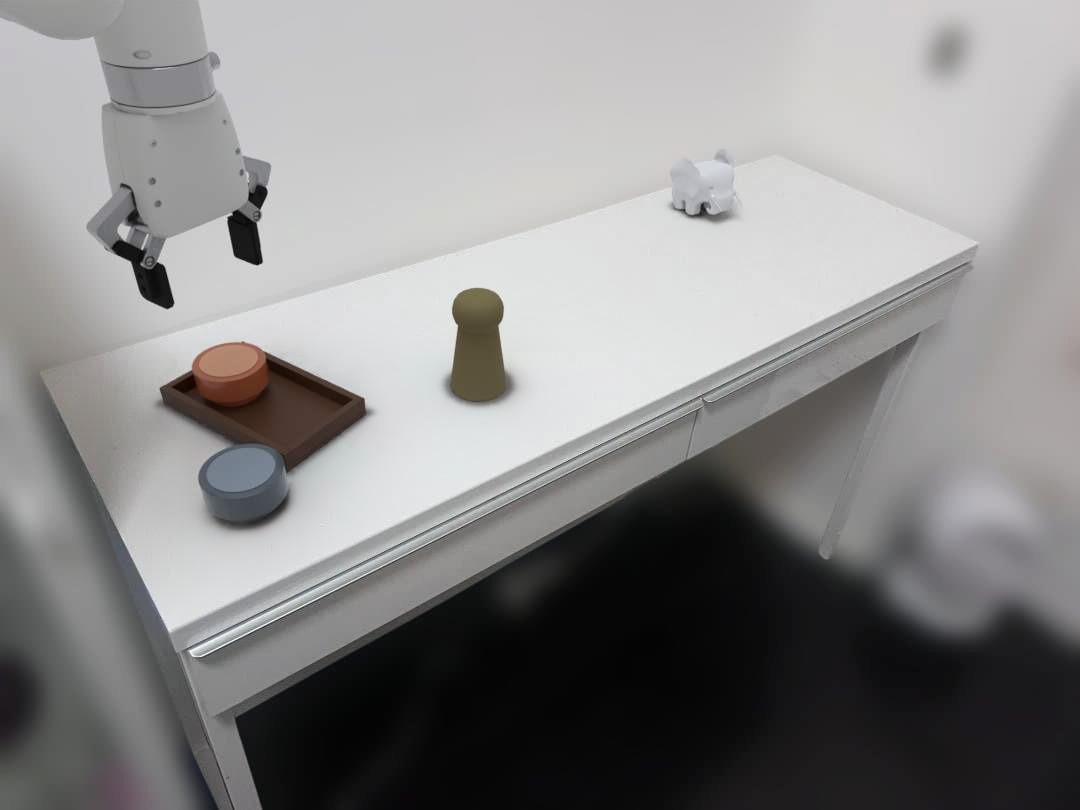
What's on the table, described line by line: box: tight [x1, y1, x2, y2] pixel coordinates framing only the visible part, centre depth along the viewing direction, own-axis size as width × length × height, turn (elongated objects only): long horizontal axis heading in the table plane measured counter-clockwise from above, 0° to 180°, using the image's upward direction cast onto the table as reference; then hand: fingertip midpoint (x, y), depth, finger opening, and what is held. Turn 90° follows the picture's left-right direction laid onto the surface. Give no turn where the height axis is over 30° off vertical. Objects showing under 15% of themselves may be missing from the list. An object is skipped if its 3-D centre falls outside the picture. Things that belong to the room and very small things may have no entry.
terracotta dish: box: [191, 341, 269, 407], centre depth 82 cm, size 7×7×4 cm
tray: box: [158, 341, 367, 472], centre depth 81 cm, size 11×18×2 cm, turn 57°
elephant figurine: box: [669, 146, 743, 216], centre depth 122 cm, size 10×12×9 cm
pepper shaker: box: [449, 287, 507, 403], centre depth 83 cm, size 6×6×11 cm
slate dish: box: [197, 444, 289, 524], centre depth 70 cm, size 7×7×4 cm
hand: (206, 281), depth 71 cm, fingers open, 9 cm apart
